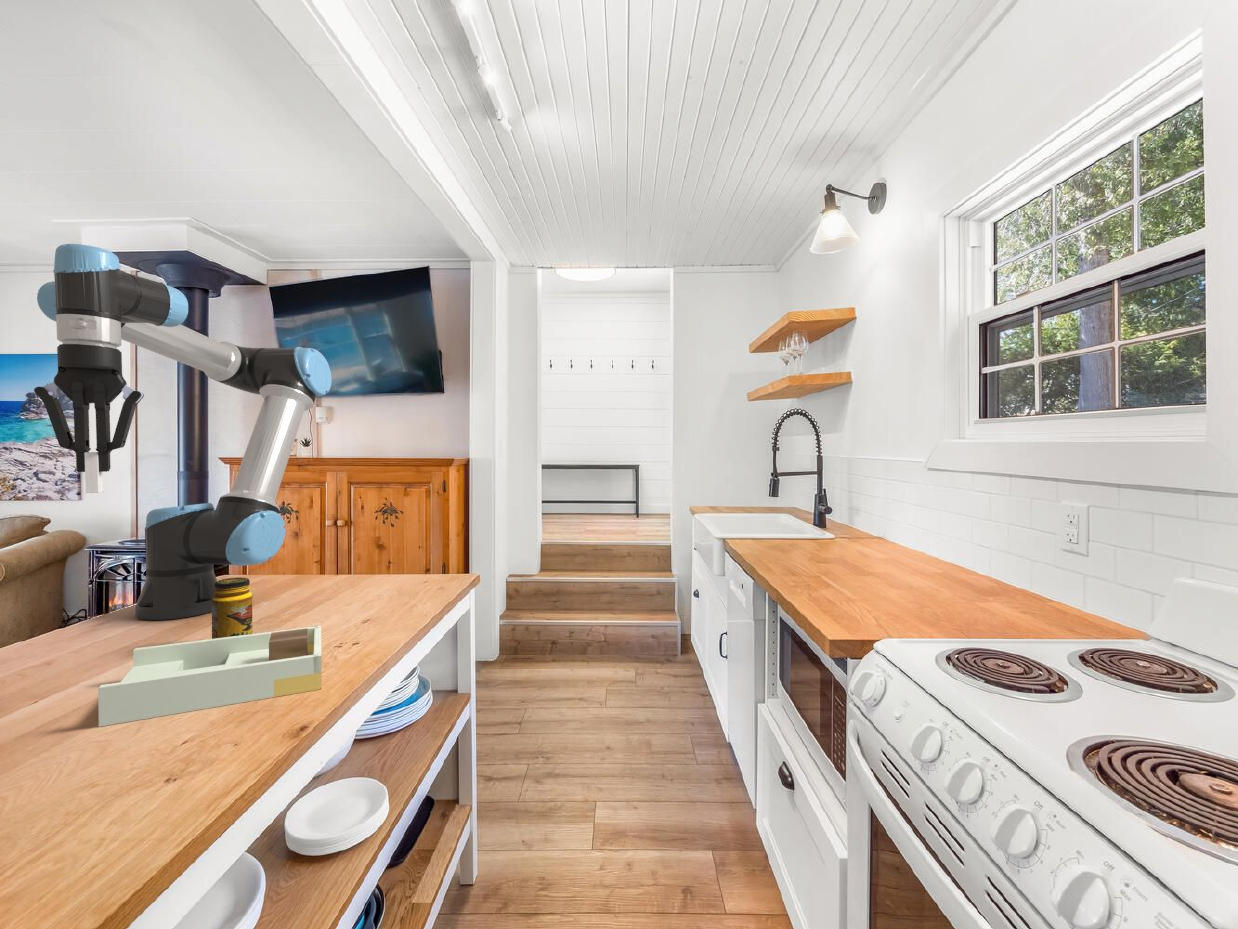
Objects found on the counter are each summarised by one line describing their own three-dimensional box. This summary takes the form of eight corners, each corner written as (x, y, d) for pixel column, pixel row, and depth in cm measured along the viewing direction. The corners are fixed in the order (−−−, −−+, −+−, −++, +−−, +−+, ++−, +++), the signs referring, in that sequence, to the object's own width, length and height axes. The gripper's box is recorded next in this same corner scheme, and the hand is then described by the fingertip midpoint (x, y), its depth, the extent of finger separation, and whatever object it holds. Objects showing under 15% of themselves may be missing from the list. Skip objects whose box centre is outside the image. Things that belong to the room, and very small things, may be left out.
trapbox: (135, 680, 85) (135, 648, 85) (321, 654, 97) (321, 625, 97) (98, 726, 71) (98, 688, 71) (321, 689, 83) (321, 655, 82)
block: (271, 657, 88) (271, 632, 88) (307, 652, 90) (307, 628, 90) (268, 668, 84) (268, 642, 84) (306, 663, 86) (306, 637, 86)
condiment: (254, 648, 99) (254, 581, 99) (195, 657, 95) (195, 587, 94) (254, 636, 105) (254, 574, 105) (198, 645, 101) (198, 579, 101)
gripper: (23, 338, 83) (29, 496, 84) (137, 346, 89) (141, 492, 90) (42, 345, 89) (47, 491, 90) (147, 352, 96) (151, 489, 97)
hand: (94, 492), depth 90 cm, fingers closed
